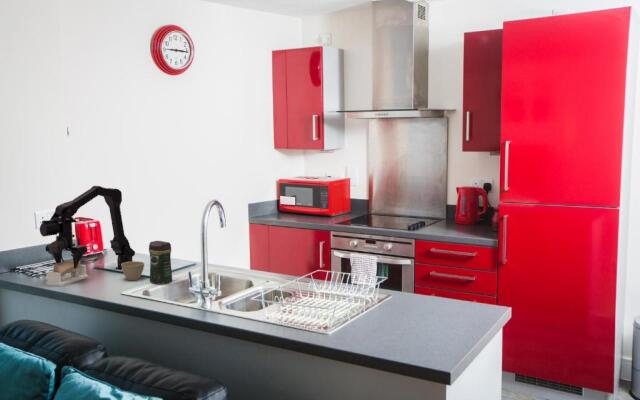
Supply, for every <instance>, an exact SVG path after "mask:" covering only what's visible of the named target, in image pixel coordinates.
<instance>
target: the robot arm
mask: <svg viewBox="0 0 640 400" xmlns="http://www.w3.org/2000/svg"><path fill="white" fill-rule="evenodd" d="M122 193H123V192H122V191H121V190H120V189H118V188H113V187H112V188H111V187H107V188H106V187H104V186H101V185H93V186H91V188H89V189H87V190H86V191H85V192H82V193H81V194H80V195H78V196H77V197H75V198H73V199H72V200H69V201H67V202H63V203H60V204H58V205H57V206H56V207H55V210H54V213H53V214H52V216H51V218H50V219H48V220H47V219H46V220H42V221H41V223H40V225H39V232H40V235H41V236H42V237H50V236H56V237H55V240H53V241H52V242H51V243H49V244H47V245H46V246H45V252H47V253H48V254H49V255H51V256H52V257H53V260H54V262H55V264H57V263H61V262H62V257H63V251H65V252H70V253H71V254H70V256H71V257H72V259H73V264H74V269H76V268H77V266H78V264H79V261H80V262H81V259H82V257H83V255H84V254H86V253H88V247H87V246H86V245H76V243H74V242H73V241H74V238H75V236H76V235H75V234H73V223H77V220H76V219H75V218H74V215H76V214H77V212H78V210H79V209H80V208H81V207H84V206H85V205H87V204H88V203H89V202H91V201H92V200H93V199H95V198H97V197H98V196H100V197H103V199H104V202H105V203H106V205H107V207H108V209H109V214H110V220H111V225H112V226H111V227H112V232H113V238H112V239H110V240H109V243H110V249H111V250H112V251H113V252H114V254H115V256H117V258H116V260H117V261H116V262H117V267H115V269H116V270H122V267H121V264H122V263H125V262H133V257H134V256H135V255H136V251H135V250H134V249H133V248H132V247H131V245H130V242H129V240H128V238H127V236H126V234H125V230H124V223H123V219H122V211H121V205H122V201H123V194H122Z"/></svg>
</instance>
